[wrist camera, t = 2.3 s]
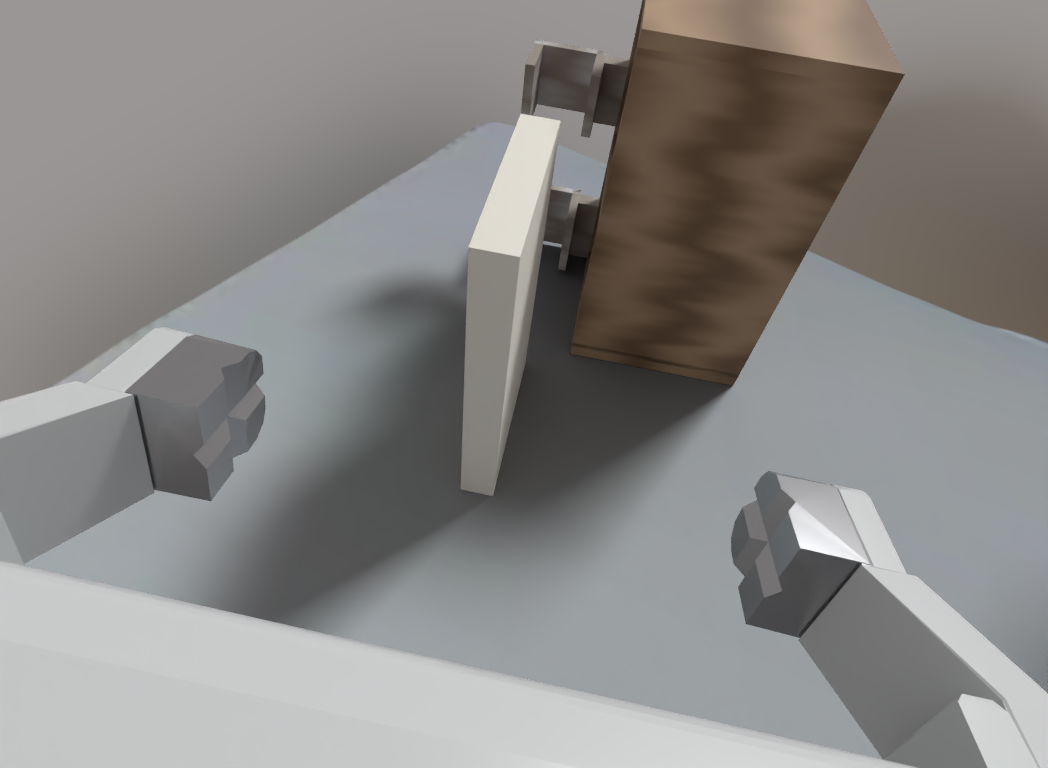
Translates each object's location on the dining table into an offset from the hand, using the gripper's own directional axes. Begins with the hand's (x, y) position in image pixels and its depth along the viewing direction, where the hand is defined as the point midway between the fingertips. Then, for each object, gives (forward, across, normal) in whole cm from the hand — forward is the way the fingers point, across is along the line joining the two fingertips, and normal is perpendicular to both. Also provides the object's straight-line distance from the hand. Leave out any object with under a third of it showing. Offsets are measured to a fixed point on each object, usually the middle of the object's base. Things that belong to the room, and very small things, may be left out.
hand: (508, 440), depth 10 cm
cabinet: (+37, -6, +15) cm, 41 cm away
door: (+24, +1, +19) cm, 31 cm away
